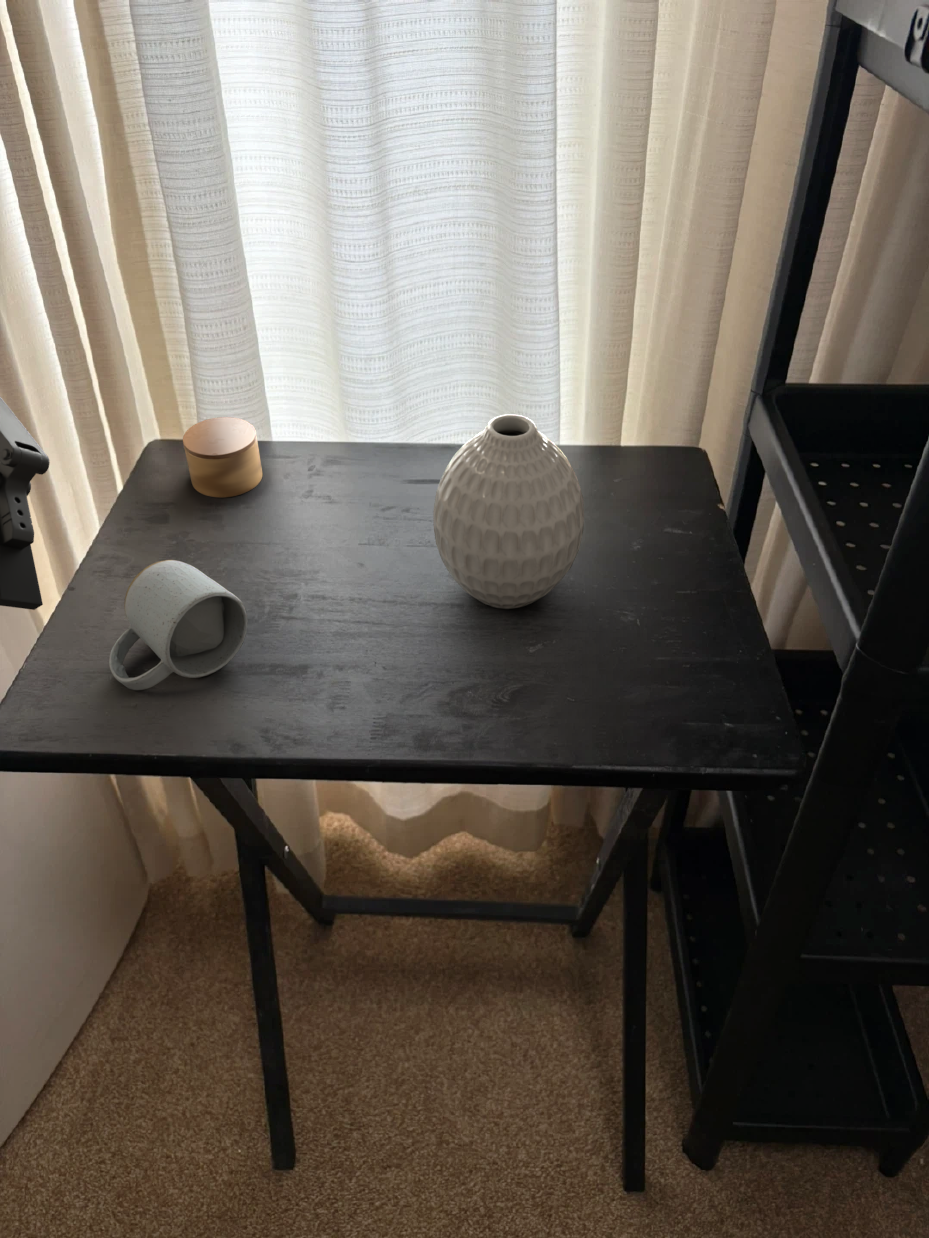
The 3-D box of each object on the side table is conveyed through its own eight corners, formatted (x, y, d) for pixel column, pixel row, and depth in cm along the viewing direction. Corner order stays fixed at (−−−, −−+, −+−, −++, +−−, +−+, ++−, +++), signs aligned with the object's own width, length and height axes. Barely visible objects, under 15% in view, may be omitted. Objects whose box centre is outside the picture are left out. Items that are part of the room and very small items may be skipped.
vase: (476, 653, 87) (478, 488, 75) (411, 567, 95) (404, 408, 84) (605, 606, 91) (624, 444, 80) (532, 528, 99) (539, 372, 88)
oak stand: (193, 502, 103) (184, 459, 100) (189, 463, 108) (180, 422, 105) (266, 491, 104) (259, 449, 101) (258, 454, 109) (252, 412, 106)
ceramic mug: (201, 603, 91) (183, 535, 86) (256, 648, 87) (241, 579, 82) (94, 664, 86) (68, 595, 81) (147, 715, 82) (123, 645, 76)
